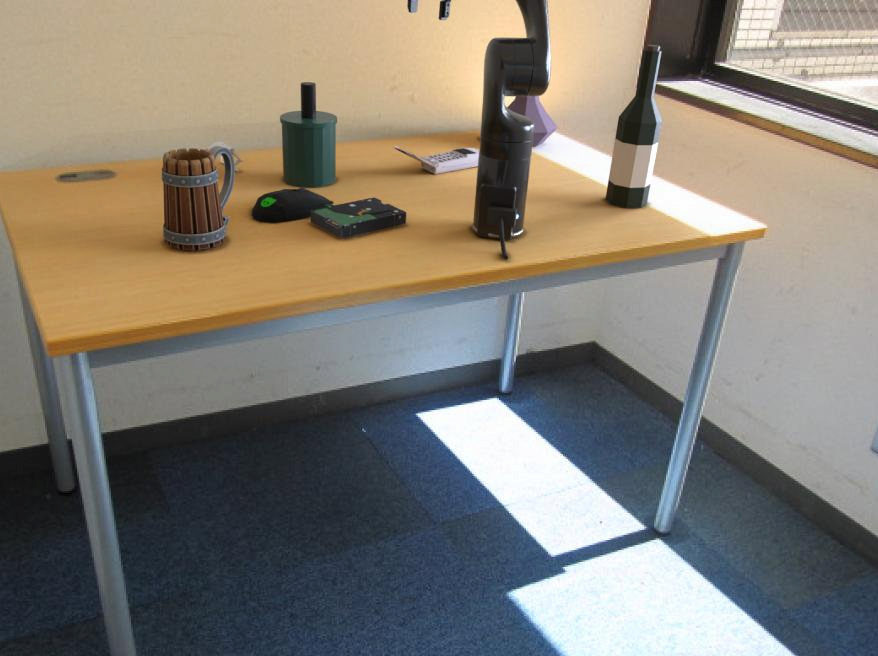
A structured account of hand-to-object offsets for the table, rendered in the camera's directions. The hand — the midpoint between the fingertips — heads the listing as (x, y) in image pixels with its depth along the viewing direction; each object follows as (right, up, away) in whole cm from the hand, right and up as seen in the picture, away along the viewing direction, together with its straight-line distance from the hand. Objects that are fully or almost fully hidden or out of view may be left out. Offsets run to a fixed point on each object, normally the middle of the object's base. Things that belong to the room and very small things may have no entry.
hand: (427, 16), depth 189 cm
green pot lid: (-25, -25, -9) cm, 37 cm away
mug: (-40, -54, -34) cm, 76 cm away
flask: (+25, -18, +30) cm, 43 cm away
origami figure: (-44, -33, +1) cm, 55 cm away
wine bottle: (+40, -42, -8) cm, 59 cm away
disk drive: (-14, -50, -26) cm, 58 cm away
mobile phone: (+4, -31, +8) cm, 32 cm away
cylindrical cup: (-25, -36, -3) cm, 44 cm away
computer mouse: (-27, -46, -20) cm, 57 cm away
